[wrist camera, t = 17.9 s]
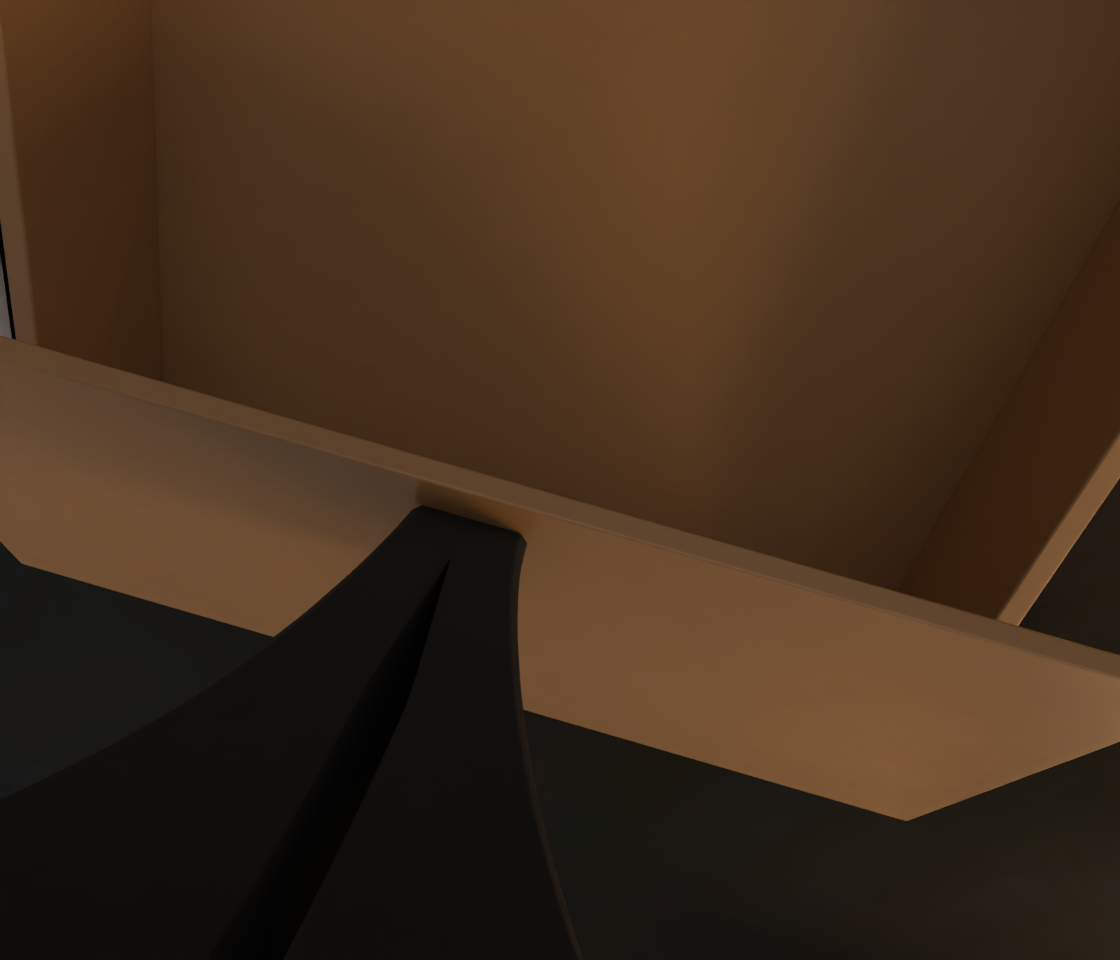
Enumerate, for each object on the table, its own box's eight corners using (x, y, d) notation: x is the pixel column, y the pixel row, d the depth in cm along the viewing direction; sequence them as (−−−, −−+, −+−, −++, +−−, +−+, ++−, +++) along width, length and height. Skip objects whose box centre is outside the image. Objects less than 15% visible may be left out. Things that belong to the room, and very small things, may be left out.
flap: (908, 804, 19) (906, 821, 18) (28, 549, 19) (20, 563, 19) (1215, 680, 11) (1216, 707, 11) (-230, 269, 12) (-246, 289, 12)
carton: (890, 625, 23) (906, 789, 19) (156, 416, 23) (41, 538, 19) (1444, -334, 12) (1699, -362, 9) (115, -678, 13) (-143, -833, 9)
